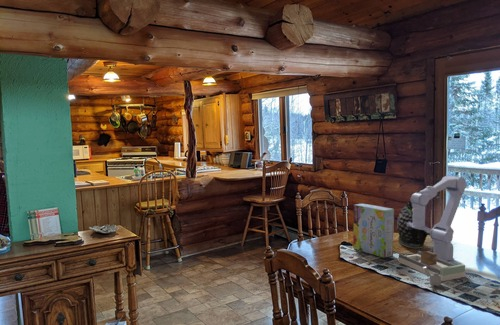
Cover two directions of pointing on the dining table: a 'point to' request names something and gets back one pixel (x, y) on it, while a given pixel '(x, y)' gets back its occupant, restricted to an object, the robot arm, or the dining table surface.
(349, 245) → the dining table surface
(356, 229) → the snack box
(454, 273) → the trap channel
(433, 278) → the lighter
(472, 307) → the dining table surface
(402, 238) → the pine cone
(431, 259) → the walnut block
